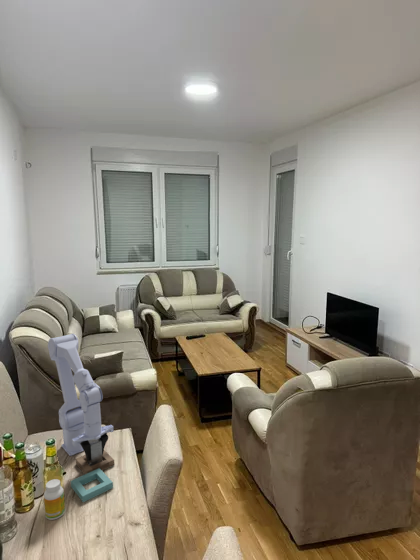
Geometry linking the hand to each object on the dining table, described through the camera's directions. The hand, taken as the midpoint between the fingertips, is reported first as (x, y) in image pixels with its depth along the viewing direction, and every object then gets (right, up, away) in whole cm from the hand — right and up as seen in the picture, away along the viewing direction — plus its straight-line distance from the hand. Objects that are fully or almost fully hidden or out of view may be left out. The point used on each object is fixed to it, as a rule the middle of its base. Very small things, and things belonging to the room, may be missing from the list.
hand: (94, 456), depth 135 cm
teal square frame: (+3, -4, -12) cm, 13 cm away
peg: (0, -3, 0) cm, 3 cm away
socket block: (0, -3, 0) cm, 3 cm away
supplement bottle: (-5, -6, -23) cm, 24 cm away
